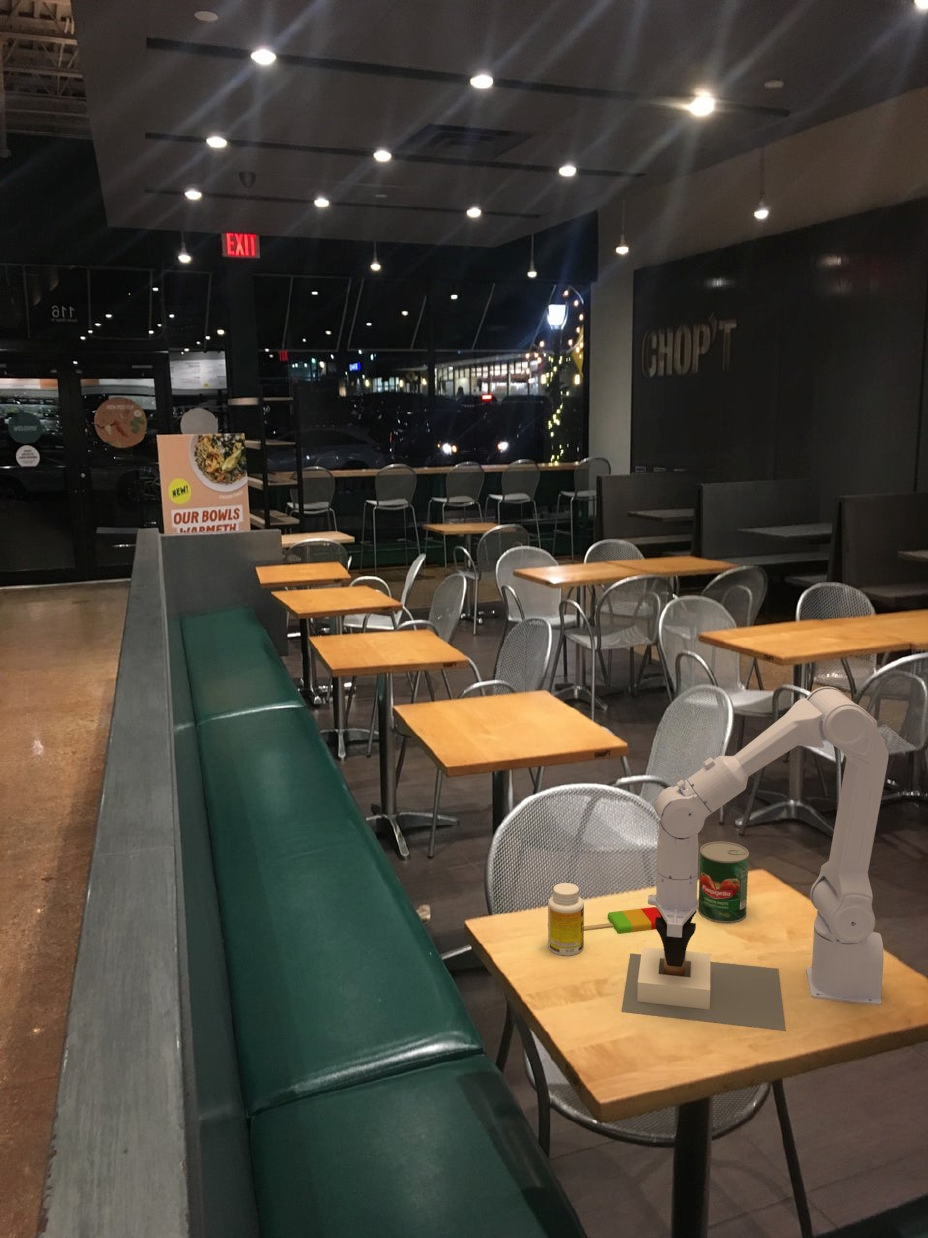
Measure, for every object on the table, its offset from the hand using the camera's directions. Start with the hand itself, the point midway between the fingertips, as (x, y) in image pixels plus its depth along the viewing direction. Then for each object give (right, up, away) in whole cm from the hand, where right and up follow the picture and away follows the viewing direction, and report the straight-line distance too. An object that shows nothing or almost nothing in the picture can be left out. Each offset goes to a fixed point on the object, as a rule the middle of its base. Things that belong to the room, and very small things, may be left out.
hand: (675, 958), depth 146 cm
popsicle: (-5, -2, +19) cm, 20 cm away
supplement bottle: (-15, -3, +13) cm, 19 cm away
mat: (+4, -5, 0) cm, 6 cm away
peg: (0, -3, 0) cm, 3 cm away
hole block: (0, -4, +1) cm, 4 cm away
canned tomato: (+13, 0, +23) cm, 26 cm away
